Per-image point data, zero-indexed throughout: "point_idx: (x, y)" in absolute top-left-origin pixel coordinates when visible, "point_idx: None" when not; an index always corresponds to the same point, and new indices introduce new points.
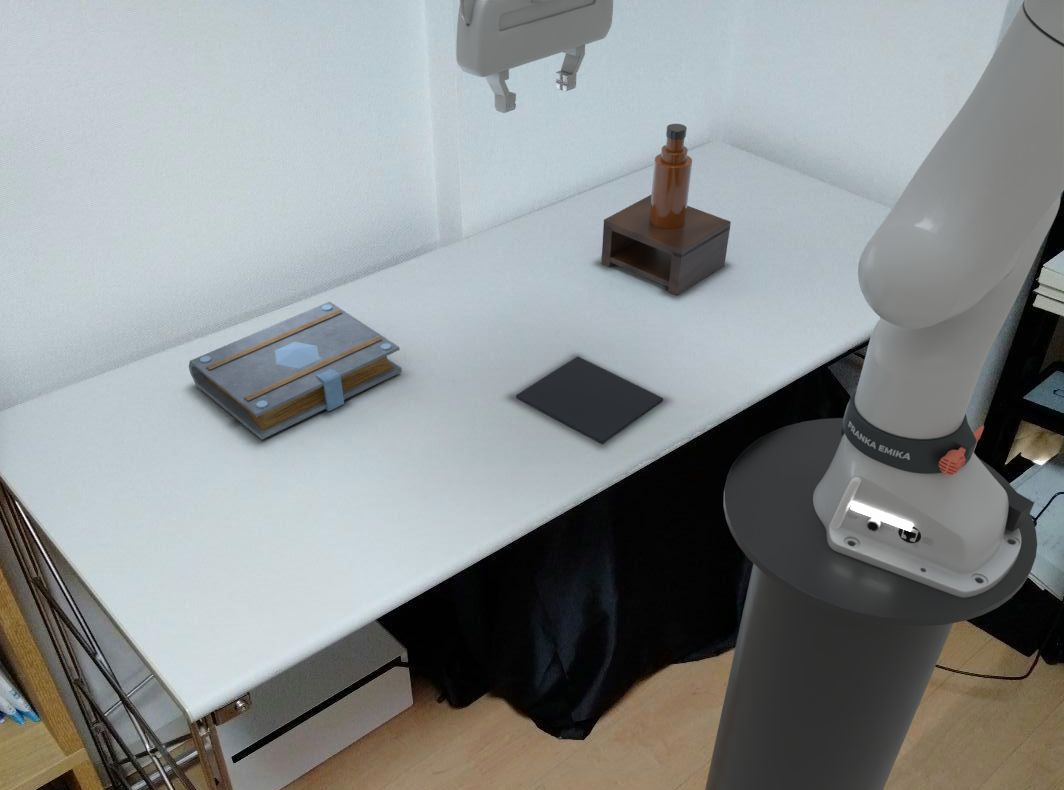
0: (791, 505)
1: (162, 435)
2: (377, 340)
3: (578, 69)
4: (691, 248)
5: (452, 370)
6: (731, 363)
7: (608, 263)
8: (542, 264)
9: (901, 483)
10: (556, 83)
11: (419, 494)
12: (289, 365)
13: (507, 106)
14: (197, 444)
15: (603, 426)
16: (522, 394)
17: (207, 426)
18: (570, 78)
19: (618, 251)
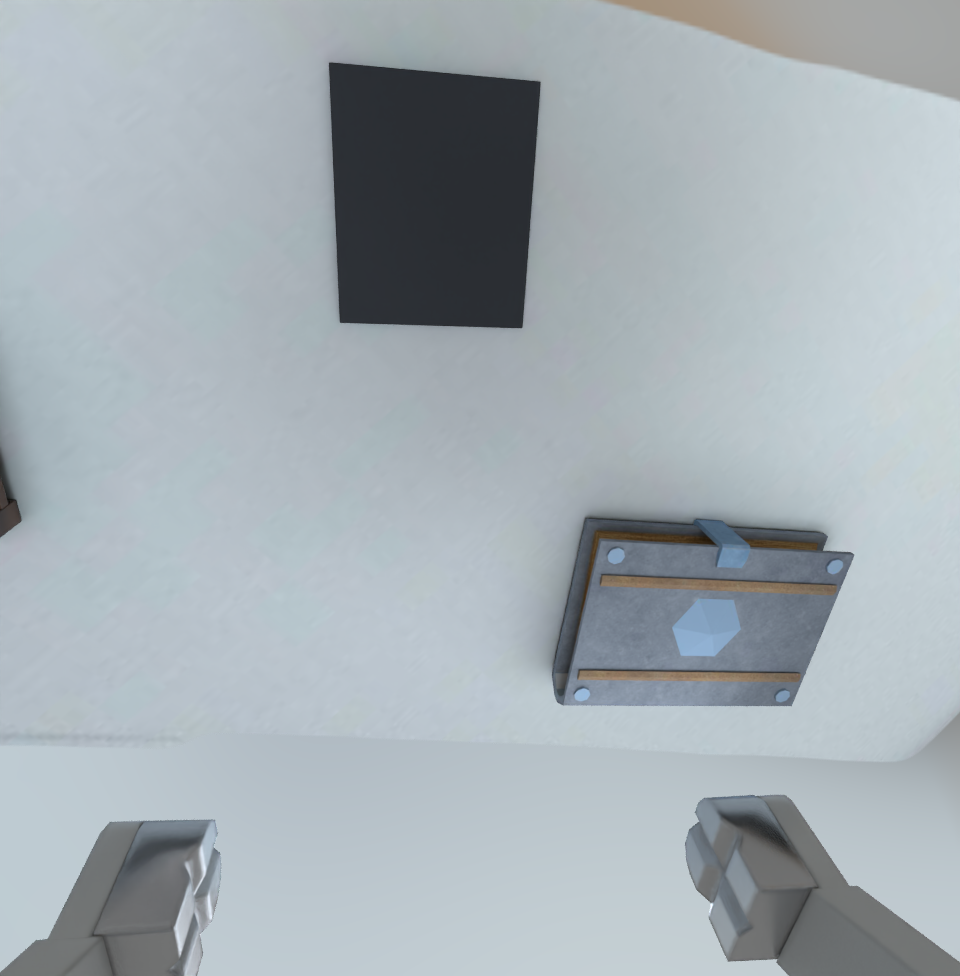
0: None
1: (860, 624)
2: (611, 576)
3: (12, 963)
4: None
5: (524, 467)
6: (74, 4)
7: (13, 505)
8: (134, 595)
9: None
10: (212, 912)
11: (819, 268)
12: (735, 614)
13: (797, 821)
14: (857, 583)
15: (499, 113)
16: (512, 320)
17: None
18: (143, 899)
19: None
